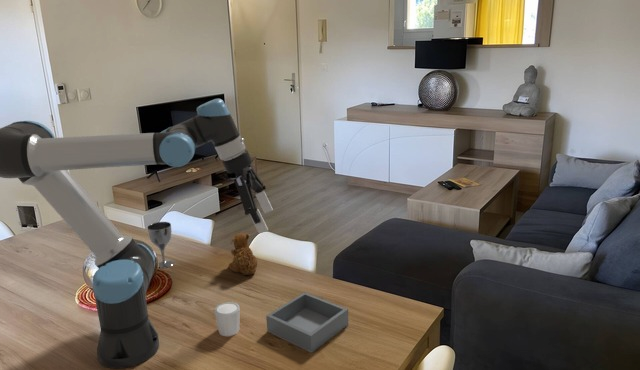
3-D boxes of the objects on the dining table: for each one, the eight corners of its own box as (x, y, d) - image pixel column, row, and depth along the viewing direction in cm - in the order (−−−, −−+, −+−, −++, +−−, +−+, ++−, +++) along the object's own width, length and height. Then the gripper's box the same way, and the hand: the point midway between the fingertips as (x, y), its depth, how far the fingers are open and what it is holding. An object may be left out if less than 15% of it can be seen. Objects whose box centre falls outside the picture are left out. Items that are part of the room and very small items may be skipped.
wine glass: (180, 262, 179) (175, 224, 175) (162, 270, 173) (157, 231, 169) (165, 257, 184) (160, 220, 179) (148, 266, 177) (142, 227, 173)
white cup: (236, 338, 132) (234, 315, 130) (212, 336, 134) (210, 313, 132) (245, 324, 139) (243, 302, 137) (222, 322, 140) (220, 300, 138)
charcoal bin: (311, 352, 125) (310, 335, 124) (267, 331, 135) (266, 315, 134) (348, 324, 137) (348, 309, 136) (305, 307, 147) (304, 292, 145)
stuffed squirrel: (254, 260, 180) (252, 226, 176) (264, 276, 167) (261, 240, 163) (227, 264, 176) (224, 230, 173) (235, 282, 164) (231, 245, 160)
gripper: (239, 164, 120) (274, 236, 127) (252, 137, 144) (281, 199, 151) (211, 175, 121) (248, 245, 128) (229, 147, 145) (259, 208, 152)
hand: (266, 221), depth 139 cm, fingers open, 13 cm apart
